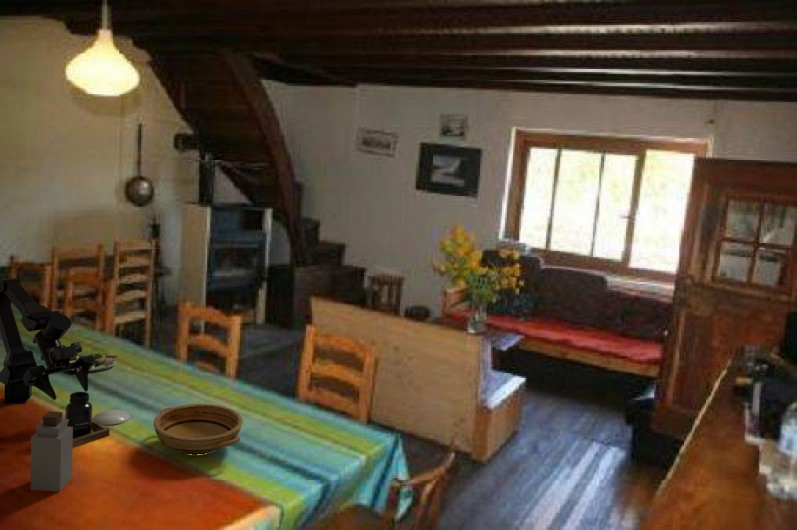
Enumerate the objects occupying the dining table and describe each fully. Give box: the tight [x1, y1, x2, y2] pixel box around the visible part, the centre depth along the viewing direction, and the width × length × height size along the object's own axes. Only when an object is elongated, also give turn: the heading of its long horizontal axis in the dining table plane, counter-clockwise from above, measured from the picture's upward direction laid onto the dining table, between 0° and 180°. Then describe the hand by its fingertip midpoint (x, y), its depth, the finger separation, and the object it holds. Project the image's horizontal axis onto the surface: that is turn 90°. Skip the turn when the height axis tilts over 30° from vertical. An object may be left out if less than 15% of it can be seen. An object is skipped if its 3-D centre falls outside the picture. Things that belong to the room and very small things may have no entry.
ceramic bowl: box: [153, 403, 244, 456], centre depth 183 cm, size 30×24×8 cm
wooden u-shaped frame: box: [73, 418, 111, 448], centre depth 183 cm, size 11×12×2 cm
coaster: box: [93, 409, 131, 426], centre depth 196 cm, size 10×10×1 cm
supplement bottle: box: [64, 391, 93, 439], centre depth 183 cm, size 7×7×12 cm
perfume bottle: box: [30, 410, 74, 493], centre depth 156 cm, size 7×7×18 cm
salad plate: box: [66, 352, 118, 375], centre depth 237 cm, size 19×18×5 cm
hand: (71, 394), depth 184 cm, fingers open, 9 cm apart
